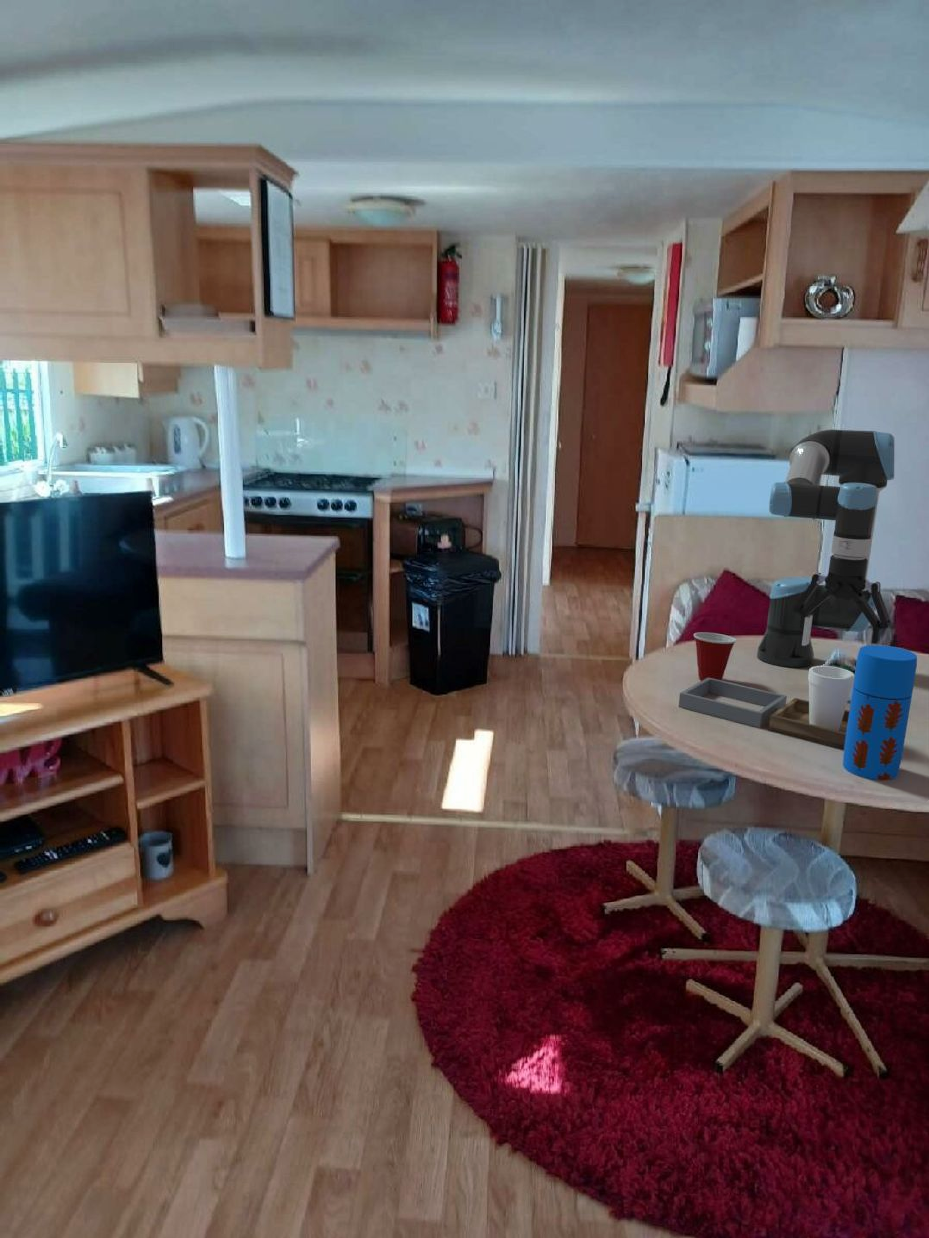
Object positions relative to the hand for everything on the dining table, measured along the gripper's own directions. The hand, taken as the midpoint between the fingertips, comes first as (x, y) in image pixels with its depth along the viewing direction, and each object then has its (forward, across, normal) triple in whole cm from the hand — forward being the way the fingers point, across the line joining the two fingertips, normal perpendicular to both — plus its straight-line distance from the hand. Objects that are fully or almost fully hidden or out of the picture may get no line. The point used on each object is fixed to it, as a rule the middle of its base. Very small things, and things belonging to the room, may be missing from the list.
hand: (836, 650), depth 209 cm
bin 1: (+19, -22, 0) cm, 29 cm away
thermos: (+19, +14, -15) cm, 28 cm away
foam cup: (+18, 0, 0) cm, 18 cm away
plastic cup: (+20, -35, +17) cm, 43 cm away
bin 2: (+19, 0, 0) cm, 19 cm away
